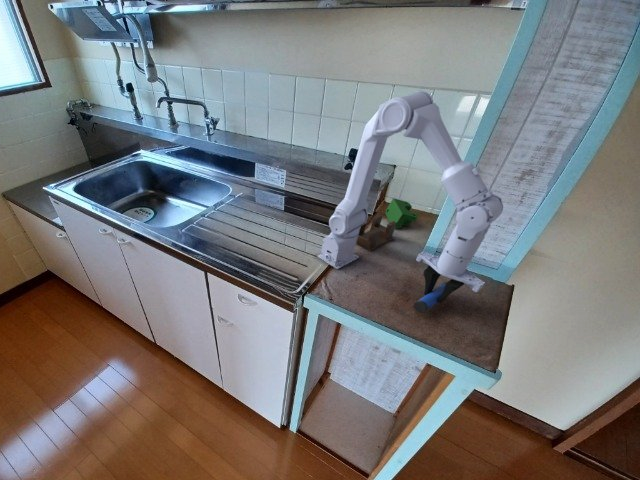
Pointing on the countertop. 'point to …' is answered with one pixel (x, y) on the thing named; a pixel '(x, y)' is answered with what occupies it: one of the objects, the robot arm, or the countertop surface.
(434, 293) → the handle
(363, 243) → the holder
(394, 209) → the clamp
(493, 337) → the countertop surface
